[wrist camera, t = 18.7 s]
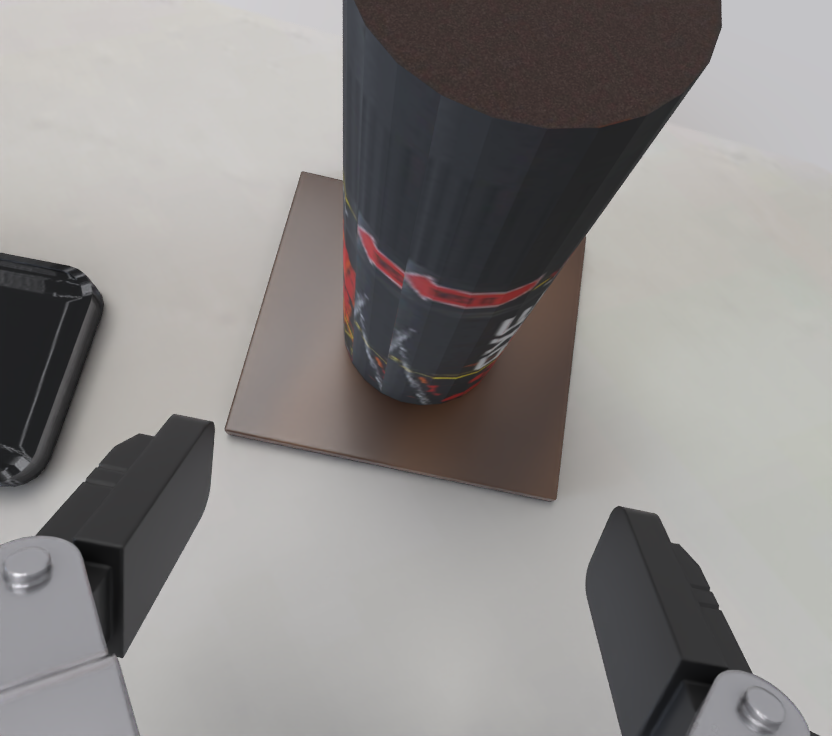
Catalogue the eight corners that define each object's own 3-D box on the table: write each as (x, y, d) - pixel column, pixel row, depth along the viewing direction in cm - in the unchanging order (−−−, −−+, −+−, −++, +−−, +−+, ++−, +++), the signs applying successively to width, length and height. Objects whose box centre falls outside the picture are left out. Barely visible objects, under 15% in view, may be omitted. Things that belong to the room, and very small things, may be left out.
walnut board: (226, 434, 22) (223, 430, 22) (302, 179, 26) (301, 170, 25) (551, 502, 23) (557, 500, 22) (581, 242, 26) (586, 235, 26)
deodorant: (450, 435, 23) (629, 203, 8) (312, 350, 23) (261, -8, 9) (525, 309, 24) (774, -53, 10) (396, 233, 25) (465, -216, 11)
